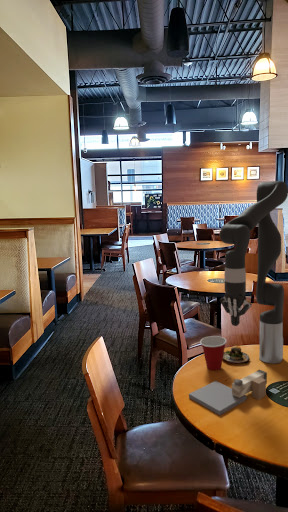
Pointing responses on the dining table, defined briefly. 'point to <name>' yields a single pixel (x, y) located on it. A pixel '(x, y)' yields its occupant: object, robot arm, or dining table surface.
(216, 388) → the grey slab beige block
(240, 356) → the burger
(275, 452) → the dining table surface
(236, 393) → the folding leg
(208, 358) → the plastic cup
